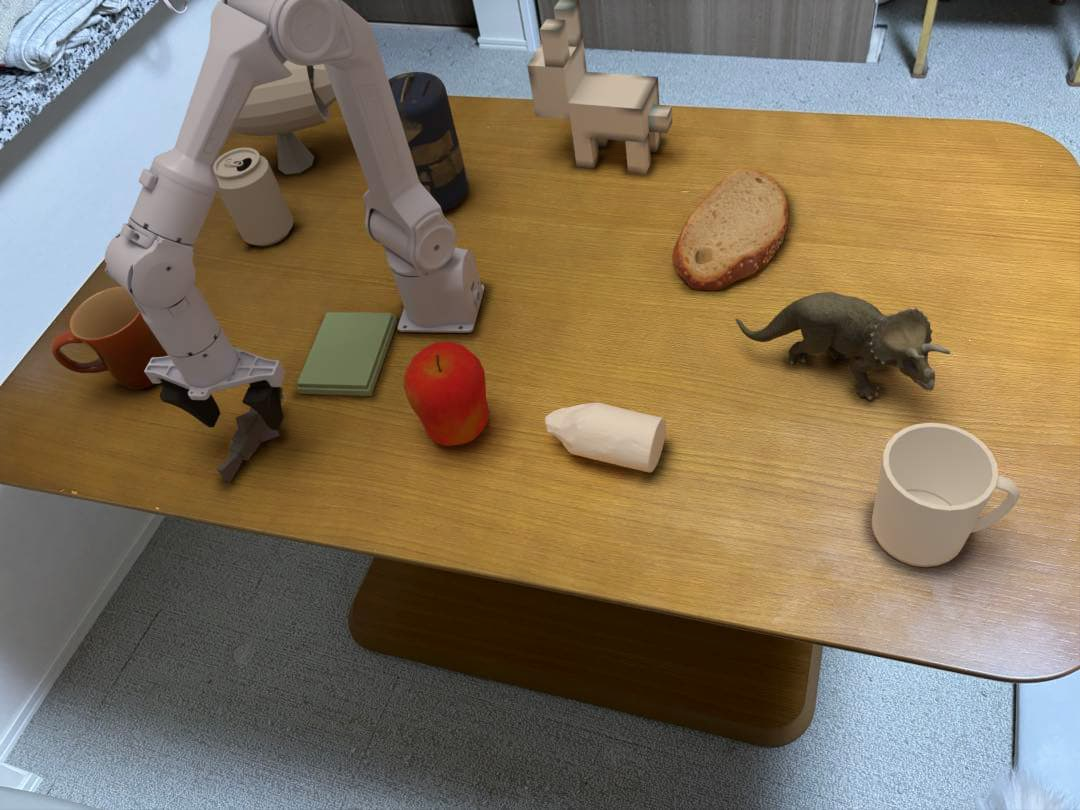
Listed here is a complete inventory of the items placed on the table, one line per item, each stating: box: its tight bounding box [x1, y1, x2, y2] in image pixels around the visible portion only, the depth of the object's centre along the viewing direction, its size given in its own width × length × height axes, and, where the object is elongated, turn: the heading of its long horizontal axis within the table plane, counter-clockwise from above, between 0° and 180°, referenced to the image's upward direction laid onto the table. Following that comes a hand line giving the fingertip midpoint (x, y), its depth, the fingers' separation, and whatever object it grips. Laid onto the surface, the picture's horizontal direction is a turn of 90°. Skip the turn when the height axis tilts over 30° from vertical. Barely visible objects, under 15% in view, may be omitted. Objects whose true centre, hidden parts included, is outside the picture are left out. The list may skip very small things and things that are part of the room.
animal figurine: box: [216, 386, 286, 483], centre depth 99 cm, size 12×4×5 cm, turn 153°
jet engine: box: [231, 60, 337, 175], centre depth 128 cm, size 15×20×18 cm
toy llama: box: [526, 0, 673, 175], centre depth 118 cm, size 8×18×20 cm, turn 69°
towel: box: [296, 311, 398, 397], centre depth 107 cm, size 9×12×2 cm
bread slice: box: [671, 167, 789, 291], centre depth 110 cm, size 18×18×4 cm
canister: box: [388, 71, 469, 213], centre depth 118 cm, size 10×10×18 cm
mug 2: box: [871, 422, 1020, 568], centre depth 78 cm, size 11×9×10 cm
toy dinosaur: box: [735, 291, 952, 401], centre depth 91 cm, size 22×8×11 cm, turn 49°
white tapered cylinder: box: [544, 401, 667, 473], centre depth 91 cm, size 6×12×6 cm, turn 68°
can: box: [213, 147, 295, 247], centre depth 121 cm, size 8×8×12 cm
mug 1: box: [50, 285, 168, 390], centre depth 106 cm, size 12×9×10 cm
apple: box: [403, 340, 490, 447], centre depth 93 cm, size 9×8×12 cm
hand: (246, 421), depth 98 cm, fingers open, 7 cm apart
